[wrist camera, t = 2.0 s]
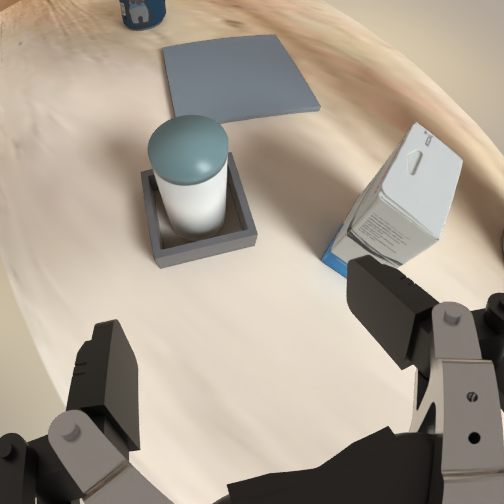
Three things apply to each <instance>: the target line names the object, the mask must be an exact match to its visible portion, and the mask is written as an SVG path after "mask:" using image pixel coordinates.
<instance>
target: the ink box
mask: <svg viewBox="0 0 504 504" xmlns="http://www.w3.org/2000/svg"><path fill="white" fill-rule="evenodd" d="M462 163H463V159H462V158H461V157H460V156H458V155H457V154H456V153H455V152H454V151H453V150H451V149H450V148H449V147H448V146H447V145H445V144H444V143H443V142H442V141H440V140H439V139H438V138H437V137H435V136H434V135H433V134H432V133H430V132H429V131H428V130H426V129H425V128H424V127H422V126H421V125H420V124H419V123H418V122H415V123H414V124H413V125H412V127H411V128H410V130H409V131H408V133H407V134H406V135H405V137H404V138H403V140H402V141H401V142H400V143H399V145H398V146H397V147H396V149H395V150H394V151H393V153H392V154H391V156H390V157H389V158H388V159H387V161H386V162H385V164H384V165H383V166H382V168H381V169H380V170H379V171H378V173H377V174H376V175H375V177H374V178H373V179H372V181H371V182H370V183H369V185H368V186H367V187H366V188H365V190H364V191H363V192H362V193H361V195H360V196H359V197H358V199H357V200H356V202H355V204H354V206H353V207H352V209H351V211H350V212H349V214H348V216H347V217H346V219H345V221H344V223H343V224H342V226H341V228H340V229H339V231H338V232H337V234H336V236H335V237H334V239H333V241H332V242H331V244H330V246H329V247H328V249H327V251H326V252H325V254H324V255H323V257H322V262H323V263H325V264H326V265H328V266H329V267H331V268H332V269H334V270H335V271H337V272H338V273H340V274H341V275H343V276H344V277H346V278H347V264H348V261H349V260H351V259H354V258H358V257H361V256H364V255H371V256H372V257H374V258H375V259H376V260H377V261H379V262H380V263H381V264H386V265H388V266H391V267H394V268H396V269H397V268H398V267H400V266H402V265H403V264H405V263H406V262H408V261H410V260H411V259H413V258H414V257H416V256H417V255H419V254H421V253H422V252H424V251H425V250H427V249H428V248H430V247H431V246H433V245H434V244H436V243H437V242H438V241H439V239H440V236H441V233H442V230H443V227H444V224H445V221H446V218H447V215H448V213H449V209H450V206H451V203H452V200H453V197H454V193H455V190H456V186H457V183H458V179H459V176H460V172H461V168H462Z"/></svg>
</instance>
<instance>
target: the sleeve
mask: <svg viewBox="0 0 504 504" xmlns="http://www.w3.org/2000/svg"><path fill="white" fill-rule="evenodd" d="M141 178H142V186H143V193H144V200H145V206H146V213H147V219H148V225H149V231H150V237H151V242H152V248H153V253H154V259H155V261H156V262H157V264H158V265H159V267H160V269H161V268H165V267H169V266H173V265H177V264H181V263H185V262H189V261H194V260H198V259H202V258H206V257H210V256H214V255H218V254H222V253H226V252H231V251H235V250H239V249H243V248H247V247H251V246H255V242H256V239H257V235H258V234H257V231H256V227H255V224H254V221H253V218H252V215H251V212H250V209H249V205H248V202H247V199H246V196H245V193H244V190H243V187H242V184H241V180H240V177H239V174H238V171H237V168H236V165H235V162H234V159H233V156H232V153H231V152H229V153H228V159H227V179H228V183H229V186H230V189H231V193H232V196H233V199H234V203H235V206H236V209H237V213H238V216H239V219H240V223H241V226H242V229H243V231H238V232H234V233H230V234H226V235H221V236H217V237H213V238H209V239H205V240H200V241H196V242H192V243H188V244H184V245H180V246H176V247H172V248H167V249H164V248H163V243H162V238H161V233H160V227H159V222H158V216H157V211H156V205H155V199H154V193H153V190H157V189H159V187H158V184H157V181H156V178H155V175H154V172H153V169H151V170H147V171H144V172H141Z"/></svg>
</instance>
